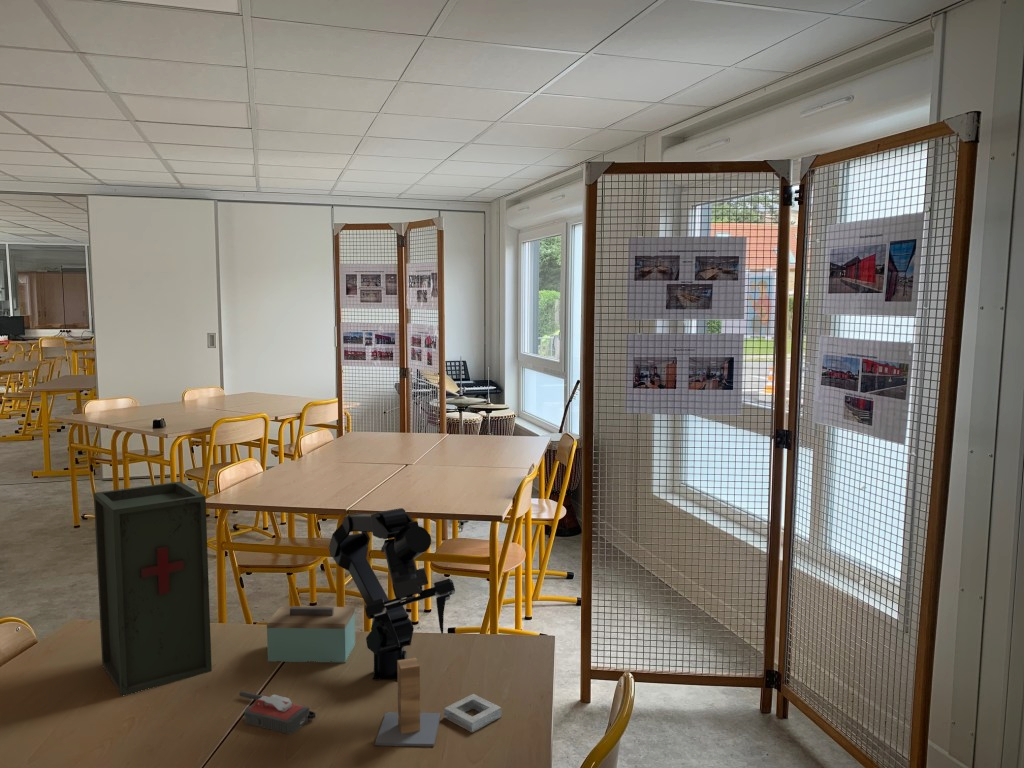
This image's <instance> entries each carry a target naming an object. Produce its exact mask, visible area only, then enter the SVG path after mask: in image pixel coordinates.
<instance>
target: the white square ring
mask: <svg viewBox="0 0 1024 768" xmlns="http://www.w3.org/2000/svg"><path fill="white" fill-rule="evenodd" d="M443 710H444V713H443V714H444V716H443V717H444V719H446V720H448V721H450V722H452V723H454V724H455V725H457V726H459V727H461V728H463V729H465V730H466V731H468V732H470V733H472V734H473V733H475V732H477V731H478V730H481V729H482V728H484V727H486V726H487V725H489V724H491V723H493V722H494V721H496V720H499V719H500V718H502V707H501V706H499V705H497V704H496V703H493V702H490V701H489V700H487V699H485V698H482V697H481V696H479V695H477V694H475V693H472V694H470V695H468V696H466V697H463V698H462V699H460V700H457V701H456V702H454V703H452V704H449V705H448V706H446V707H444V709H443ZM471 710H475V711H477V712H478V713H477V714H475V715H473V716H472V715H470V714H468V713H467V712H469V711H471Z"/></svg>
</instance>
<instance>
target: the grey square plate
mask: <svg viewBox="0 0 1024 768" xmlns="http://www.w3.org/2000/svg"><path fill="white" fill-rule="evenodd" d="M440 720H441V712H420V731H416V732H410V733H405V734H401V731H400V728H399V725H398V711H397V712H396V711H395V712H393V711H389V712H387V711H386V712H385V714H384V716H383V719H382V723H381V725H380V728H379V731H378V733H377V736H376V739H375V743H374V745H375V746H379V747H380V746H386V747H389V746H390V747H435V742H436V739H437V734H438V729H439V725H440Z"/></svg>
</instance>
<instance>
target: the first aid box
mask: <svg viewBox="0 0 1024 768" xmlns="http://www.w3.org/2000/svg"><path fill="white" fill-rule="evenodd" d="M93 504H94V505H93V507H94V525H95V526H94V527H95V528H94V529H95V544H96V546H95V547H96V567H97V568H96V569H97V585H98V587H97V589H98V607H99V626H100V627H99V628H100V648H101V664H102V665H101V666H102V667H103V666H104V667H103V669H104V668H105V669H104V671H105V672H106V671H107V672H106V674H107V675H108V677H109V676H110V677H111V678H110V677H109V678H110V680H111V679H112V680H111V682H112V683H113V682H114V683H113V685H114V684H115V685H116V686H115V685H114V686H115V688H116V687H117V688H118V689H117V688H116V689H117V691H118V690H119V691H118V693H119V692H120V693H121V694H120V693H119V694H120V695H122V696H123V695H126V694H130V695H132V694H131V693H133V694H136V693H135V692H137V693H139V692H138V691H140V692H142V691H141V690H144V691H146V690H145V689H147V690H150V688H151V689H153V687H154V688H157V686H158V687H161V686H164V685H168V684H171V683H174V682H179V681H181V680H185V679H189V678H192V677H196V676H199V675H203V674H206V673H210V672H212V671H213V670H212V668H213V667H212V664H213V663H212V641H211V617H210V616H211V613H210V612H211V611H210V590H209V587H210V586H209V583H210V581H209V559H208V558H209V557H208V555H209V554H208V529H207V528H208V527H207V524H208V523H207V500H206V495H204V494H202V493H200V492H199V491H197V490H195V489H194V488H192V487H191V486H189V485H187V484H185V483H183V482H182V481H173V482H167V483H166V482H165V483H158V484H151V485H143V486H137V487H130V488H129V487H128V488H121V489H113V490H105V491H97V492H93ZM148 688H149V689H148ZM122 696H121V697H122ZM126 696H127V695H126ZM123 697H124V696H123Z"/></svg>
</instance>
